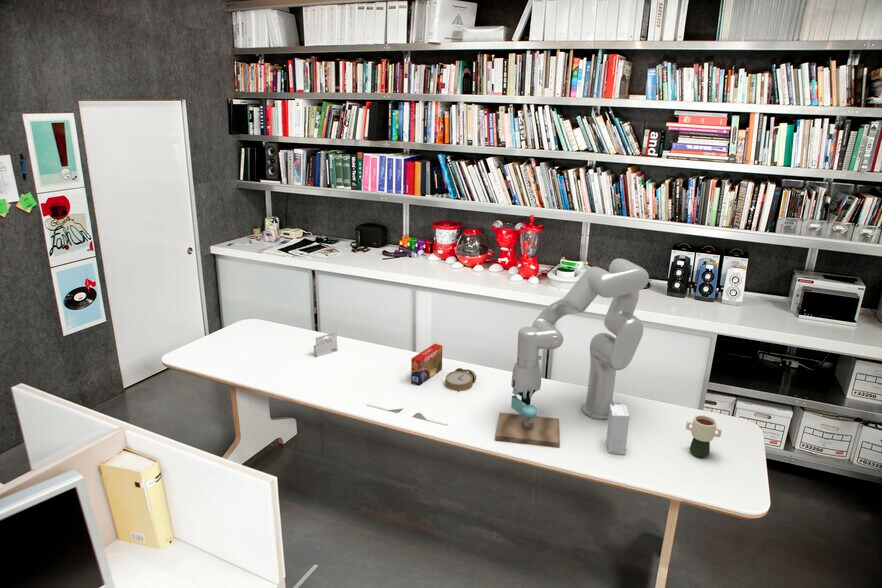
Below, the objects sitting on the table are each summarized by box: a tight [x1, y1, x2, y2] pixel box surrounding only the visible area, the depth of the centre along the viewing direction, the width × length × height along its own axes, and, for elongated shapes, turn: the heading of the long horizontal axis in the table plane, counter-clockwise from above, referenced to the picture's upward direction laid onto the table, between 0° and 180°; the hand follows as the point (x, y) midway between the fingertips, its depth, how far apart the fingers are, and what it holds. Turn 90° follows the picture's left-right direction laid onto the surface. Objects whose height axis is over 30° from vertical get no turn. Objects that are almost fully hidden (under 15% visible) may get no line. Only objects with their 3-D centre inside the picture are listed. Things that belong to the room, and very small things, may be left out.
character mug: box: [685, 414, 723, 458], centre depth 200 cm, size 11×7×13 cm, turn 64°
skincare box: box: [605, 404, 630, 456], centre depth 202 cm, size 8×6×15 cm
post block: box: [495, 412, 561, 448], centre depth 212 cm, size 22×16×7 cm
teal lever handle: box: [510, 394, 538, 418], centre depth 213 cm, size 12×5×5 cm, turn 29°
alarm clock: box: [444, 367, 477, 392], centre depth 247 cm, size 11×5×15 cm
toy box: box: [410, 343, 443, 387], centre depth 250 cm, size 18×4×12 cm, turn 149°
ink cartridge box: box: [313, 331, 339, 358], centre depth 271 cm, size 2×11×10 cm, turn 130°
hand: (525, 406), depth 217 cm, fingers closed
